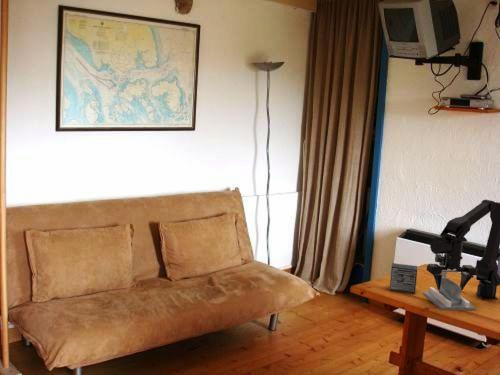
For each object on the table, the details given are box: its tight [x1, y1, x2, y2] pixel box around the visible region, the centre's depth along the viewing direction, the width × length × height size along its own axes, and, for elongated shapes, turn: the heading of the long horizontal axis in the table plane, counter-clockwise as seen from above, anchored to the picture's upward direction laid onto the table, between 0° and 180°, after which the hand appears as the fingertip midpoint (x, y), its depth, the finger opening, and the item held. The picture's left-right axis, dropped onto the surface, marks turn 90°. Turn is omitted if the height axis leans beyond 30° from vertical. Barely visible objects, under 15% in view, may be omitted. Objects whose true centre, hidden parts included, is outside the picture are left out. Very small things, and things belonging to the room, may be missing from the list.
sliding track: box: [422, 286, 476, 311], centre depth 244 cm, size 14×18×3 cm
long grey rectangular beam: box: [438, 277, 462, 305], centre depth 243 cm, size 4×12×7 cm, turn 6°
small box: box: [388, 262, 418, 294], centre depth 255 cm, size 11×6×10 cm, turn 74°
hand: (449, 290), depth 243 cm, fingers open, 9 cm apart
